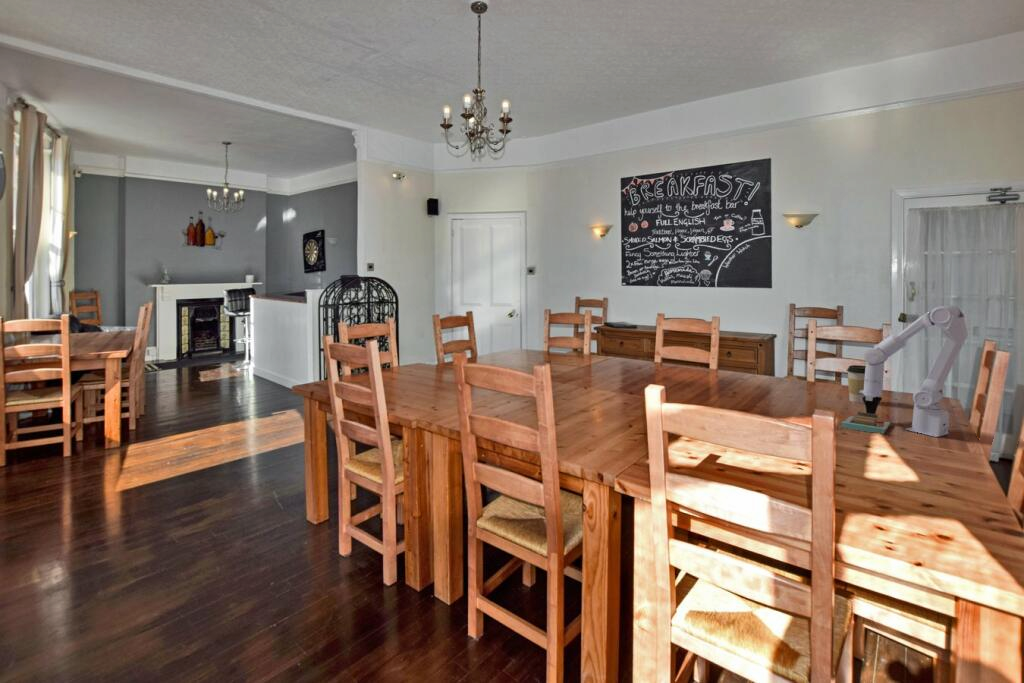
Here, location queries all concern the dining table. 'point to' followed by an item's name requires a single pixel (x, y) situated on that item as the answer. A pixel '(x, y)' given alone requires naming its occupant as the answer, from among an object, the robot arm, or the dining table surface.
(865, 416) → the brown striped block
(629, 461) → the dining table surface
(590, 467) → the dining table surface
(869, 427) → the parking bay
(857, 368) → the coffee cup
